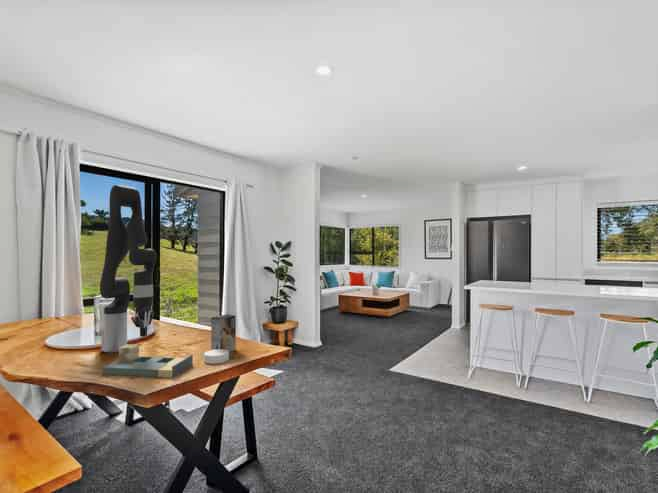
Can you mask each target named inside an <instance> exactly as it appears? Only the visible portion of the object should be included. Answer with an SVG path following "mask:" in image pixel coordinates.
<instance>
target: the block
mask: <svg viewBox="0 0 658 493" xmlns="http://www.w3.org/2000/svg"><path fill="white" fill-rule="evenodd" d="M139 356H140V345H139V344H130V343H129V344H128V343H127V345H125V346H122V347H120V348H119V352H118V360H119V361H132V360H134V359H136V358H138V357H139Z"/></svg>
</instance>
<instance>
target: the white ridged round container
mask: <svg viewBox="0 0 658 493" xmlns="http://www.w3.org/2000/svg"><path fill="white" fill-rule="evenodd" d="M229 359H230V352H229V351H228V350H225V349H214V350H210V349H209V350H207V351H205V352H204V354H203V362H204V363H206V364H211V365H212V364H213V365H214V364H215V365H216V364H217V365H218V364H222V363H226V362H228V361H229Z"/></svg>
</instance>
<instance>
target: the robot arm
mask: <svg viewBox="0 0 658 493" xmlns="http://www.w3.org/2000/svg"><path fill="white" fill-rule="evenodd" d="M123 207H124V208H125V207H126V208H130V210H131V215H130V216H131V217H130V218H129V220H128V222H127V225H126V224H125V222H124V219H123V216H122V208H123ZM108 211H109V217H108V227H107V228H108V229H107V235H106V236H107V237H106V244H105V256H104V264H103V268H102V269H103V270H102V273H101V277H100V282H99V293H100V296H101V297H102V298H103V299H107V300H108V299H113V301H111V303H109V304H108V305H105V306H104V309H103V329H101V352H104V353H117V352H118V353H119V348H120V347H122V346H125V345H127V344H128V309H129V305H130V294H131V285H130V280H129V279H128V278H126V277H124V276H122V277H121V276H120V277H119V276H118V277H116V276H117V271H118V269H119V266H120V265H121V264H122V263H123V261H124V259H125V258H126V257H127V255H128V261H129V263H130V264H131V265H133V266H144V268H142V269H141V270H137V271H135V272H134V273H133V290H132V293H133V294H132V295H133V296H132V300H133V301H132V302H133V303H132V305H133V308H135V311H134V315H133V316H131V321H132V323H133V324H134V325H135V326H134V327H135V328H139V337H146V336H148V327H149V326H150V325H151V324H152V322H153V319H154V316H155V311H152V308H151V307H153V306H154V286H153V274H154V269H155V266H156V263H157V258H158V256H157V252H156V250H154V248H153V249H152V248H142V247H144V246H146V245H147V244H148V240H149V239H148V237H147V233H146V230H145V227H144V220H143V207H142V199H141V194H140V191H139V190H138V189H137V188H135V187H132V186H127V185H126V186H125V185H119V184H115V185H113V186H112V187H111V189H110V192H109V210H108Z"/></svg>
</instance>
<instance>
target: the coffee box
mask: <svg viewBox="0 0 658 493" xmlns="http://www.w3.org/2000/svg"><path fill="white" fill-rule="evenodd" d="M236 317H237V315H234V314H222V315H216V316H211V317H210V318H211V319H210V320H211V321H210V322H211V323H210V326H211V328H210V330H211V331H210V332H211V336H210V339H211V342H210V344H211V345H210V348H211V350H214V349H225V350H228V351H229V353H230V352H234V351H236V349H237V348H236V347H237V346H236V345H237V344H236V343H237V341H236V333H237V332H236V328H237V327H236V326H237V324H236V323H237V322H236V321H237V320H236Z"/></svg>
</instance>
